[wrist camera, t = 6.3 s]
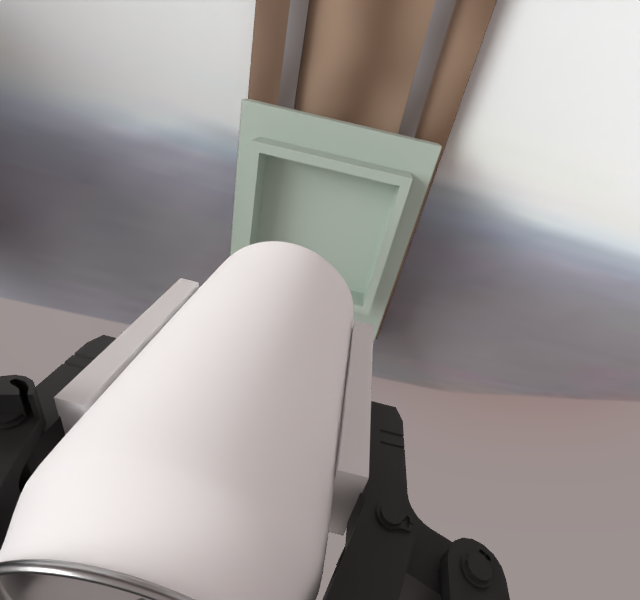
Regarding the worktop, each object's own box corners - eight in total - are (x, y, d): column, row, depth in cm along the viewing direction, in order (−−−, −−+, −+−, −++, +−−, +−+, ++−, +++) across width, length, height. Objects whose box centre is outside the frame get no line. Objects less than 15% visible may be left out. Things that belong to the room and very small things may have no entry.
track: (234, 297, 37) (223, 313, 35) (302, -476, 16) (287, -582, 14) (376, 333, 37) (376, 351, 34) (636, -409, 16) (685, -505, 13)
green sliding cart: (238, 305, 35) (213, 343, 30) (258, 98, 26) (227, 100, 21) (368, 337, 35) (365, 381, 30) (434, 140, 26) (448, 153, 21)
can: (381, 328, 16) (383, 724, 6) (271, 377, 19) (141, 719, 9) (300, 207, 14) (89, 513, 4) (187, 280, 17) (-123, 587, 6)
